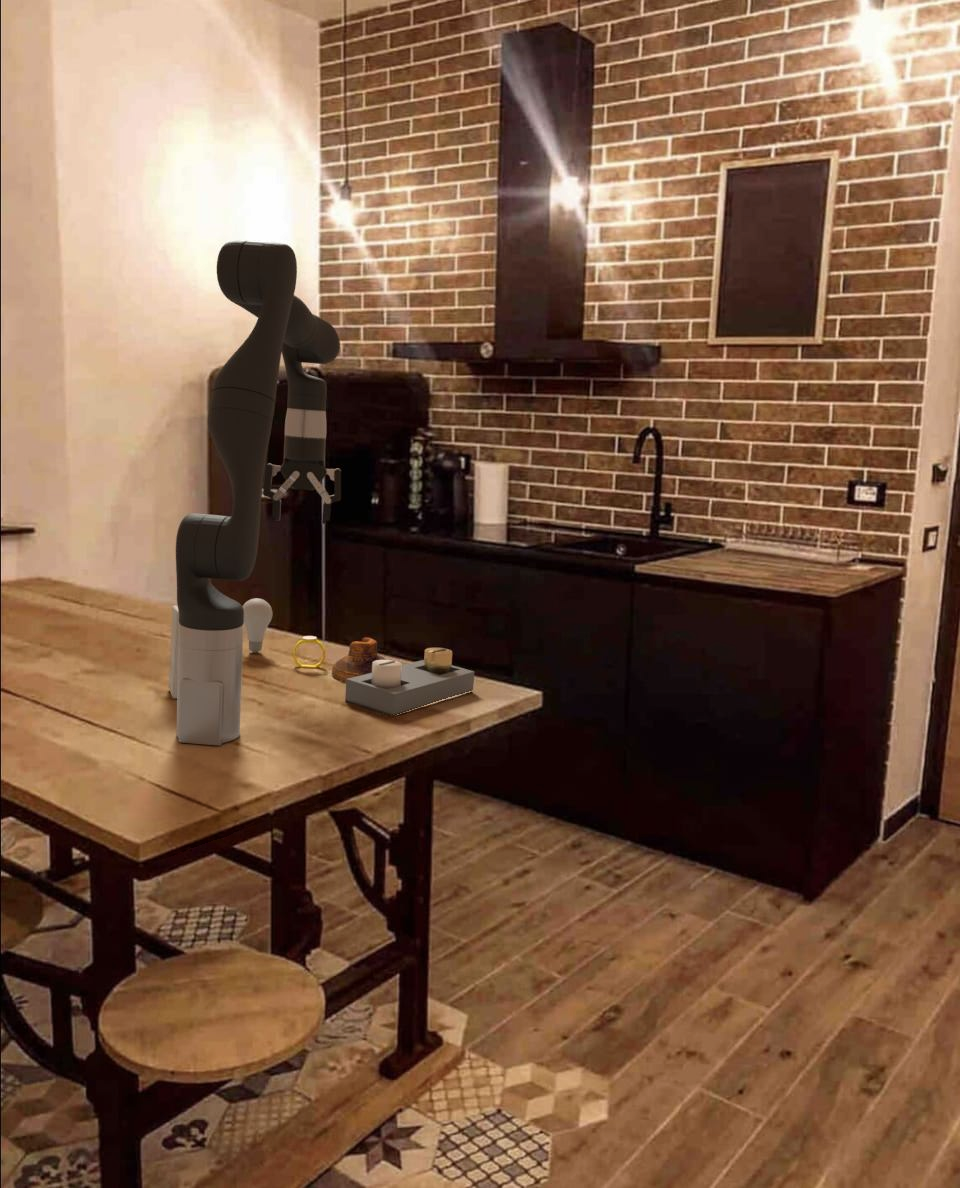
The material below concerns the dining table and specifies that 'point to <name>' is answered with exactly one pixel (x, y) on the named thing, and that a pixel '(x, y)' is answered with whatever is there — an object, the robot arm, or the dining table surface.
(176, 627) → the skincare box
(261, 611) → the lightbulb
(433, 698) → the knob mount
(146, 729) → the dining table surface
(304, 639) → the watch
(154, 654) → the dining table surface
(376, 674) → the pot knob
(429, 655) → the brass knob
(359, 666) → the broken clay vessel
